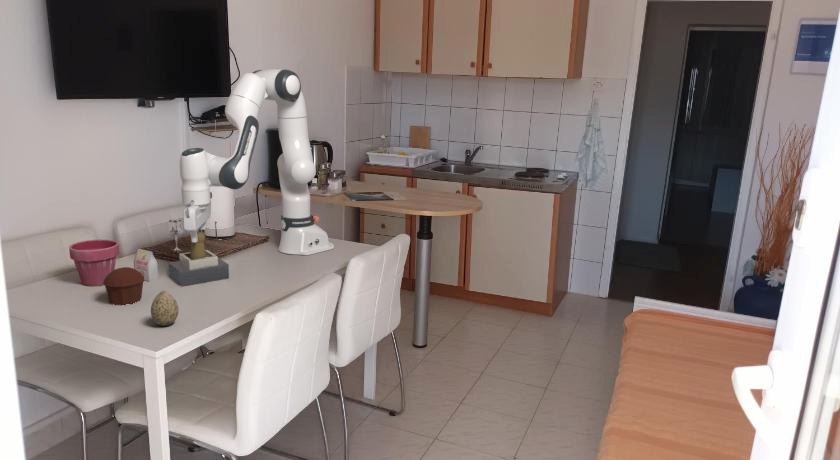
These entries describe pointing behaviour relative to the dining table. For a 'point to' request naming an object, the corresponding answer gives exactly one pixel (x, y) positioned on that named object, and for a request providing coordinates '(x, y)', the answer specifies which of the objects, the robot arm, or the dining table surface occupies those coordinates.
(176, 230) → the wineglass
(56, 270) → the dining table surface
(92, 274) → the plant pot
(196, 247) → the cork
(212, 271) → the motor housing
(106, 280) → the muffin
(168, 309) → the decorative egg
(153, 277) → the white box
